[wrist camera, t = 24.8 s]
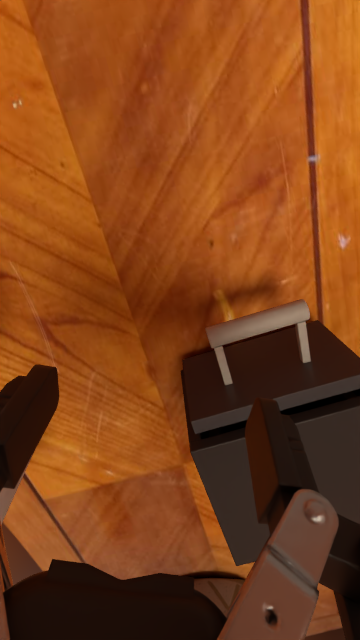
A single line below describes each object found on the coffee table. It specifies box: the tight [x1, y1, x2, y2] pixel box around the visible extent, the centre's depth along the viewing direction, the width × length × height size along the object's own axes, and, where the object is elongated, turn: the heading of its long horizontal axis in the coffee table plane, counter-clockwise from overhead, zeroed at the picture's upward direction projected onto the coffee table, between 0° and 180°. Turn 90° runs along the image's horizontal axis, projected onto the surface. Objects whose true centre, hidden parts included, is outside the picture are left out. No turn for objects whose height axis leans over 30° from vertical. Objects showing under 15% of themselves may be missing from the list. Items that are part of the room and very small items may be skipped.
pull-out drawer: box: [182, 299, 360, 437], centre depth 26 cm, size 18×13×8 cm
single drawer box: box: [181, 370, 360, 566], centre depth 28 cm, size 15×14×10 cm
